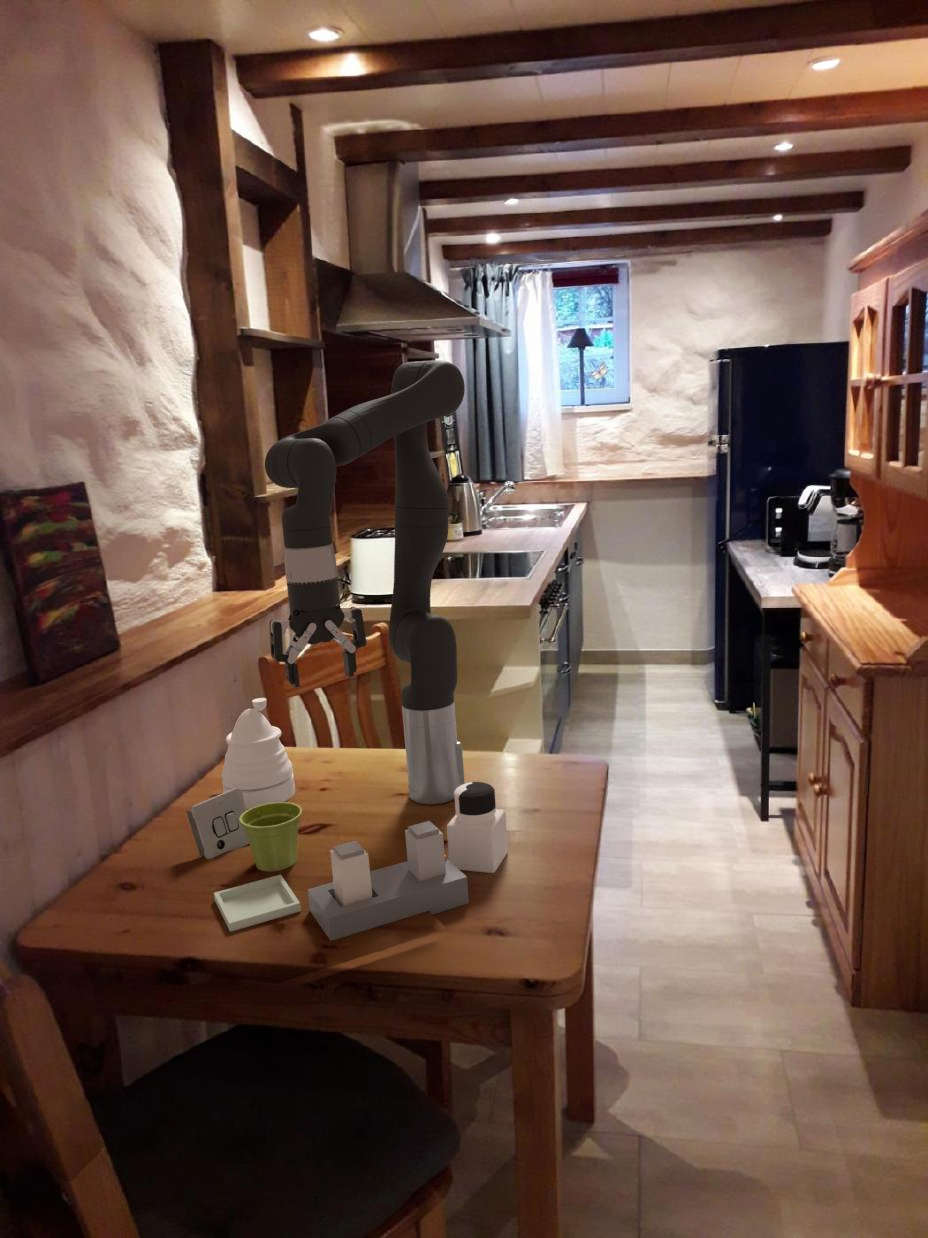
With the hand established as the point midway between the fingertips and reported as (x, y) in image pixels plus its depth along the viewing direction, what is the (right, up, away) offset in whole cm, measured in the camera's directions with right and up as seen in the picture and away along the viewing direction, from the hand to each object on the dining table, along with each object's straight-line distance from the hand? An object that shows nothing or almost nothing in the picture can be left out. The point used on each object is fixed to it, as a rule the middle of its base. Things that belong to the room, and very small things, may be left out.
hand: (322, 681), depth 144 cm
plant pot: (-7, -29, +3) cm, 30 cm away
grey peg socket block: (+11, -31, -13) cm, 35 cm away
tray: (-8, -32, -10) cm, 34 cm away
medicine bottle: (+24, -27, 0) cm, 36 cm away
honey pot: (-16, -23, +31) cm, 42 cm away
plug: (+7, -31, -15) cm, 35 cm away
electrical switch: (-18, -28, +10) cm, 35 cm away
